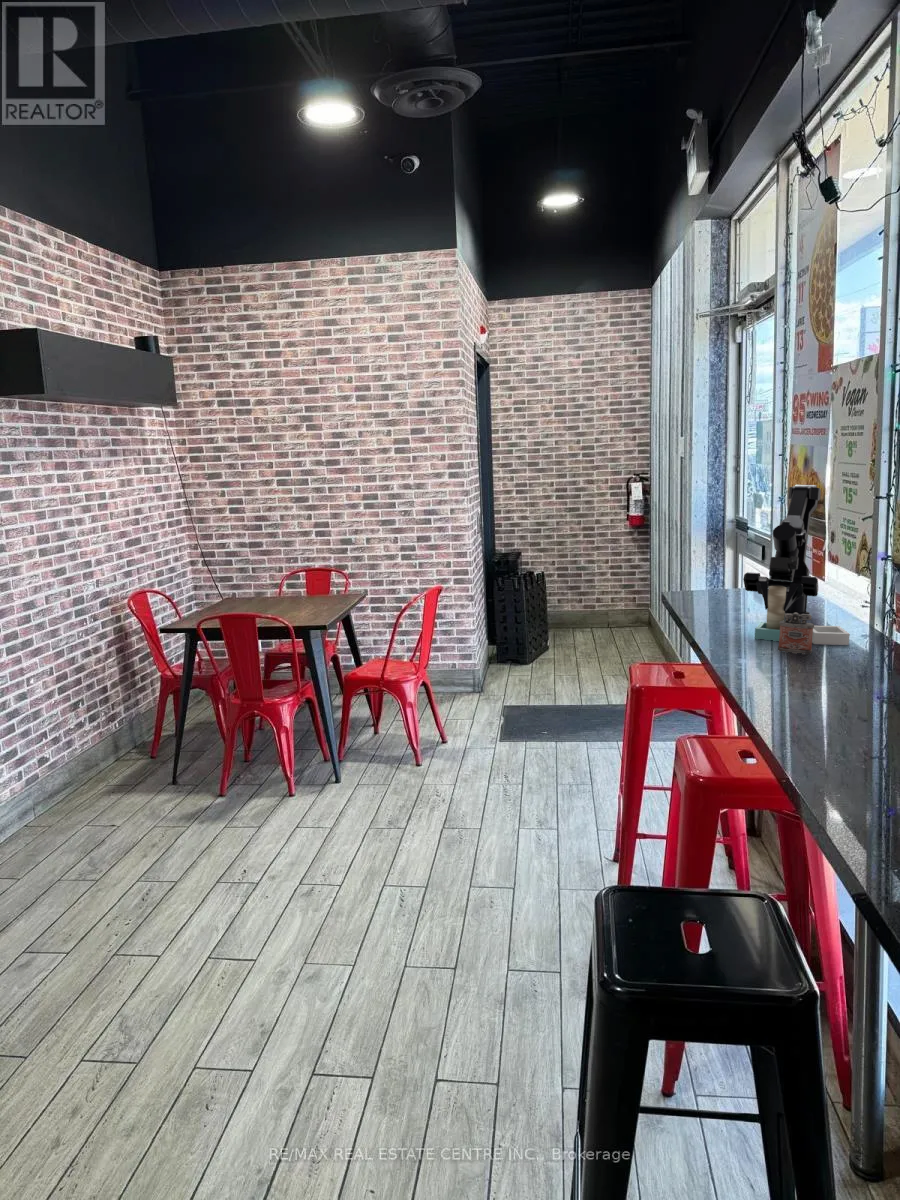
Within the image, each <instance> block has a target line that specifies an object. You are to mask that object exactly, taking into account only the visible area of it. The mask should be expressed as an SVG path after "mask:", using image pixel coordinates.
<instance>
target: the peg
mask: <svg viewBox="0 0 900 1200" xmlns="http://www.w3.org/2000/svg"><path fill="white" fill-rule="evenodd" d="M768 589H769V591H768V607H767V610H766V622H767V623H766V629H775V630H780V621H785V611H784V605H785V601H786V587H784V586H769V588H768Z"/></svg>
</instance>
